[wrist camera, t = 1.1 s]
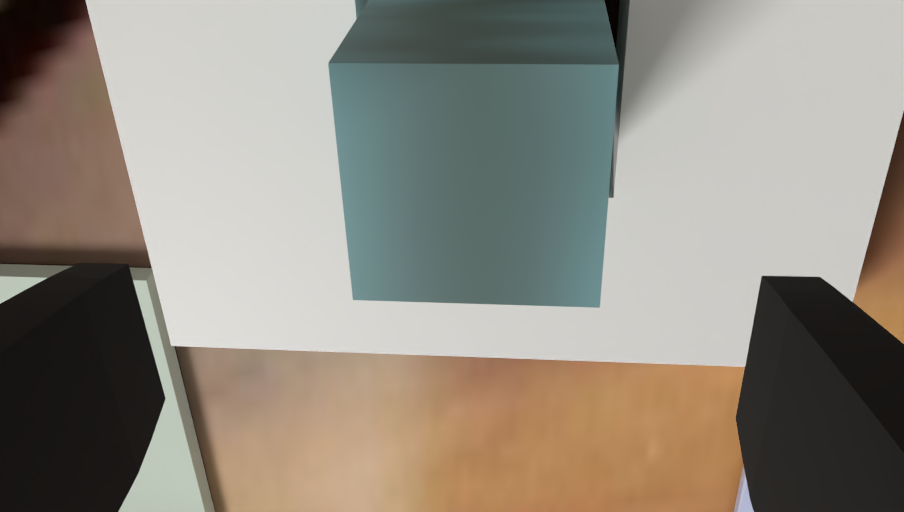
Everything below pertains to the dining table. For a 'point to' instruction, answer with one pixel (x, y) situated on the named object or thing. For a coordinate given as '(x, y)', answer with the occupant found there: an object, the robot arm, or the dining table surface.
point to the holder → (630, 191)
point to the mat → (174, 440)
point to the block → (476, 150)
